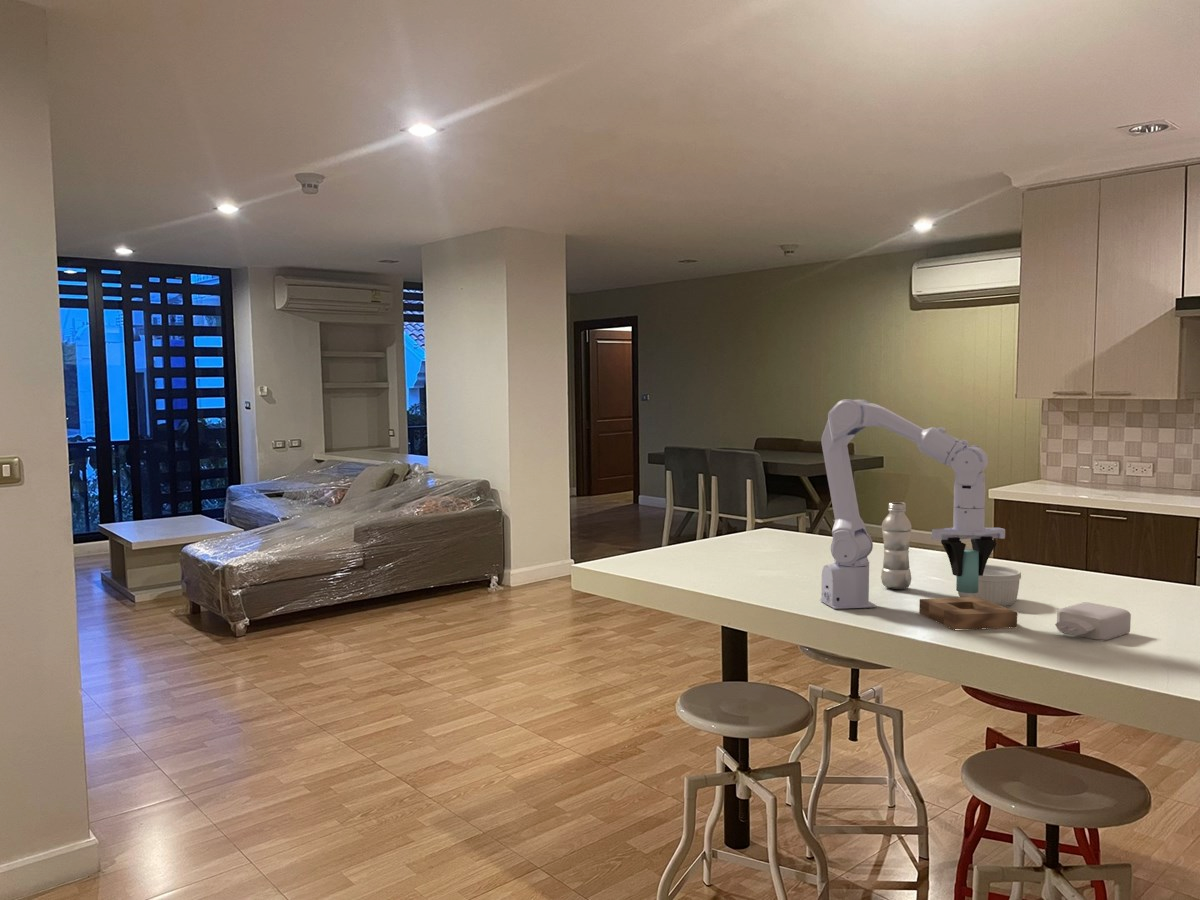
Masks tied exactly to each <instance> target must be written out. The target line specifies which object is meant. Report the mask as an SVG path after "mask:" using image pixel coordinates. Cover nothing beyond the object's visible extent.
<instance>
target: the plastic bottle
mask: <svg viewBox="0 0 1200 900" xmlns="http://www.w3.org/2000/svg"><path fill="white" fill-rule="evenodd" d="M906 505H907V504H906V503H905V502H896V501H895V502H888V509H887V511H888V512H889V513H888V514H887V515H886V517H885V518H884V519H883V520H882V523H881V531H882V532H881V533H882V539H883V563H882V569H881V574H880V580H881V584H882V585H883V587H885V588H889V589H893V590H902V589H908V588H909V586H911V582H912V574H911V573H912V572H911V569H910V559H909V558H910V557H909V549H910V540H911V534H912V524H911V521H910V520H909V518H908V516H907V515H906V514H905V513H906V512H907V509H906V508H907V507H906Z"/></svg>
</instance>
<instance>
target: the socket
mask: <svg viewBox="0 0 1200 900" xmlns="http://www.w3.org/2000/svg"><path fill="white" fill-rule="evenodd" d="M918 606H919V607H918V608H919V610H918V611H919V612H918V613H920V615H921V614H922V616H924V617H925V618H928V619H930V620H932V621H934V622H936V621H937V622H936V623H938V622H939V623H938V624H940V623H941V625H942V624H943V626H944V625H945V626H944V627H946V626H947V627H946V628H948V627H950V628H949V629H951V628H952V629H951V630H953V629H954V630H953V631H956V630H955V629H973V630H983V629H982V628H986V629H985V630H988V629H987V628H995V629H1010V628H1011V627H1017V628H1018V611H1015V610H1013V609H1010V608H1007V607H1006V606H1000V605H998V604H995V603H993V602H990V601H987V600H985V599H982V598H980V597H961V598H960V597H941V598H940V597H939V598H919V605H918ZM1009 627H1010V628H1009ZM1011 629H1012V628H1011Z"/></svg>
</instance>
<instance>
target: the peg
mask: <svg viewBox="0 0 1200 900" xmlns="http://www.w3.org/2000/svg"><path fill="white" fill-rule="evenodd" d="M978 576H979V551H976V550H973V549H966V548H965V550H964V554H963V561H962V576H957V578H956V583H955V586H956V589H955V591H957V593H958V592H963V593H978Z"/></svg>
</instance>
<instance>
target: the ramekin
mask: <svg viewBox="0 0 1200 900" xmlns="http://www.w3.org/2000/svg"><path fill="white" fill-rule="evenodd" d="M955 579H957V576H956V577H955ZM1021 579H1022V572H1021V570H1019V569H1017V568H1013V567H1009V566H1002V565H995V564H986V566H985V569H984V573H983V576H978V593H963V592H958V591H957V593H958V596H959V598H961V597H980V598H982V599H985V600H987V601H990V602H993V603H995V604H998V605H1000V606H1003V607H1006V606H1005V605H1007V606H1010V605H1013V604H1014V603H1015V602H1017V599H1018V595H1019V589H1020V581H1021Z"/></svg>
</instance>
